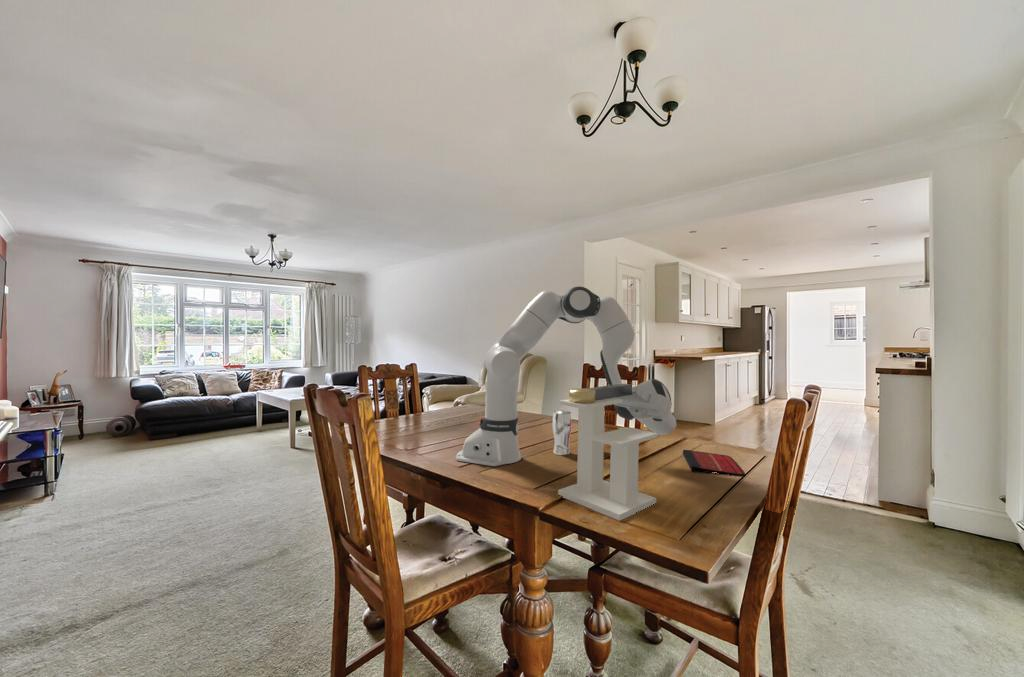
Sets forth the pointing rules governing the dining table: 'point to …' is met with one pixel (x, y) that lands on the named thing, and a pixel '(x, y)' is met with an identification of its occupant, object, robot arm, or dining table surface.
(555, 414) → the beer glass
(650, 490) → the dining table surface
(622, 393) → the grey and gold bar
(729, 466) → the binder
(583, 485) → the rack
